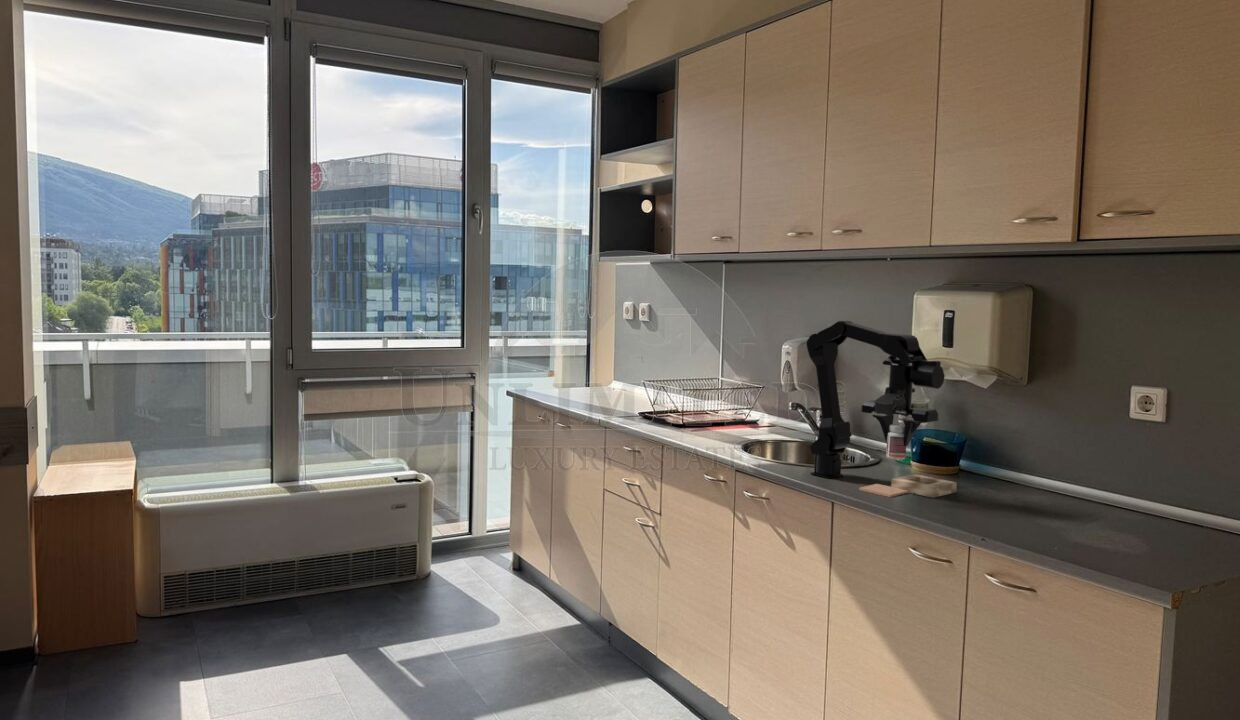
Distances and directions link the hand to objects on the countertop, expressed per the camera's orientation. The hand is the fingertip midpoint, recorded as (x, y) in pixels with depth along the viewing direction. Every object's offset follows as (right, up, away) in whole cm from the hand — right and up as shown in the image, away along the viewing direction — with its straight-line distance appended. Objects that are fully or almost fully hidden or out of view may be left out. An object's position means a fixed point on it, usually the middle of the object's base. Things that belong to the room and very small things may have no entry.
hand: (896, 444), depth 216 cm
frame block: (+8, -12, +3) cm, 15 cm away
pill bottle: (0, -4, 0) cm, 4 cm away
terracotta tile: (-3, -12, 0) cm, 13 cm away
